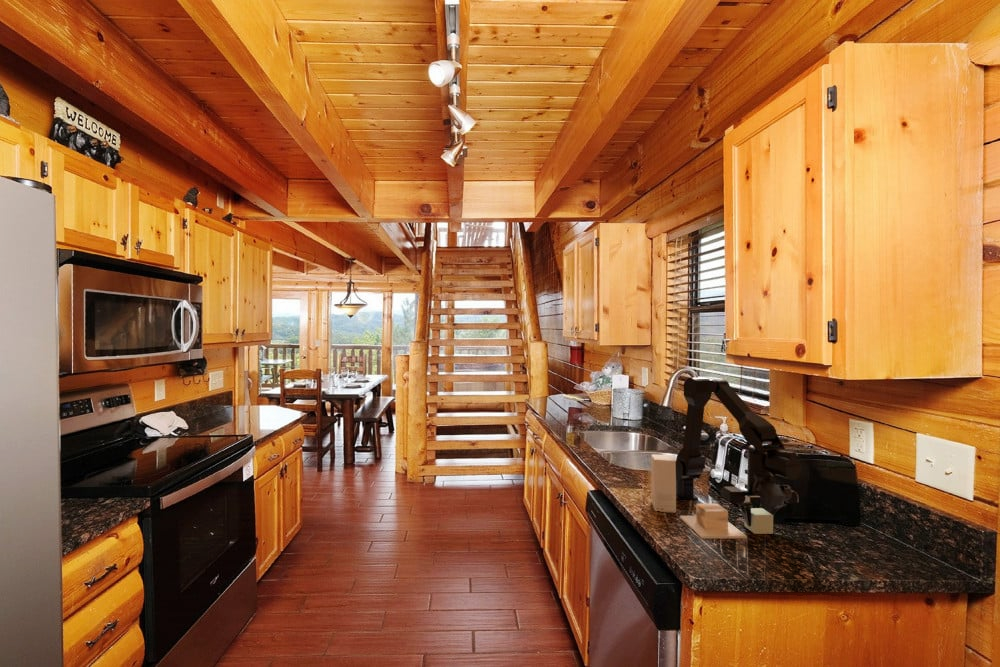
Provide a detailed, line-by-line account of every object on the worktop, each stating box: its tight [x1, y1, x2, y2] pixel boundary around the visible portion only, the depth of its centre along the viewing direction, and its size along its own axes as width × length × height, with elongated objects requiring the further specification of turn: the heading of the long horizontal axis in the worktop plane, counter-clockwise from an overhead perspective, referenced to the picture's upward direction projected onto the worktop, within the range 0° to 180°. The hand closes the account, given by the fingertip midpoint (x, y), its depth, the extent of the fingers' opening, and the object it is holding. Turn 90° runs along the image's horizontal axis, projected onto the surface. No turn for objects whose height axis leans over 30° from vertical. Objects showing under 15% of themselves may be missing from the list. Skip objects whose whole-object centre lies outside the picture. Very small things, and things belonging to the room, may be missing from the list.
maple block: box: [695, 502, 729, 530], centre depth 132 cm, size 6×6×5 cm
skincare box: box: [650, 454, 677, 514], centre depth 147 cm, size 8×7×16 cm
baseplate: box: [679, 515, 748, 539], centre depth 132 cm, size 14×12×1 cm
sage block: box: [743, 507, 774, 535], centre depth 131 cm, size 5×5×5 cm
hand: (758, 526), depth 131 cm, fingers closed on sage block, 5 cm apart
